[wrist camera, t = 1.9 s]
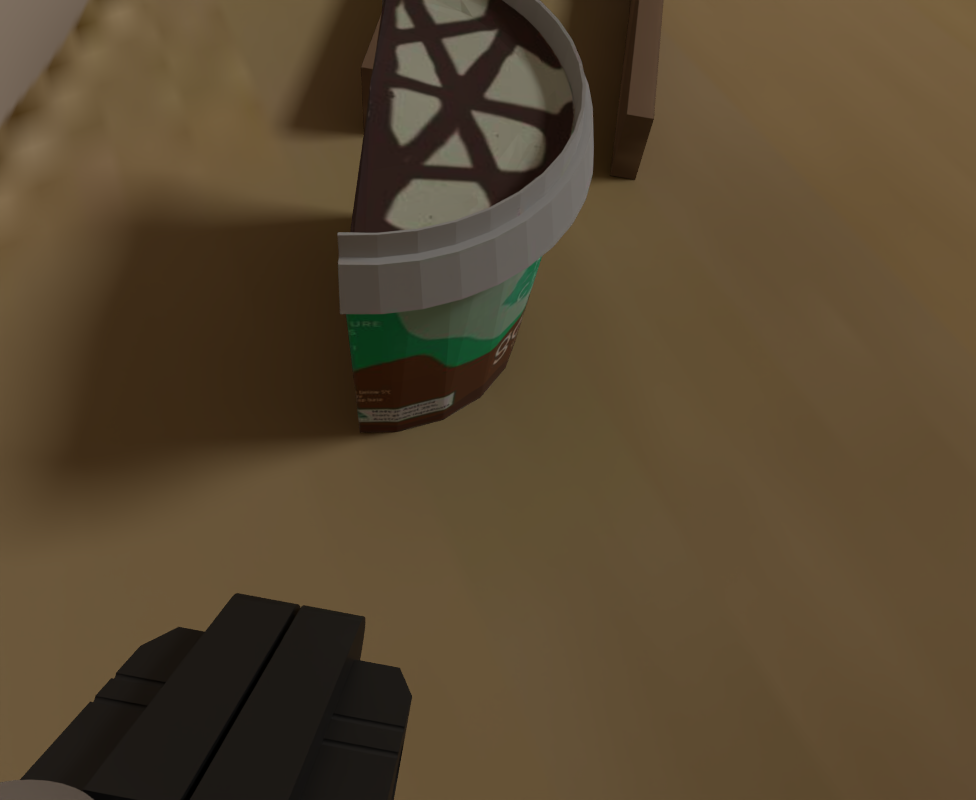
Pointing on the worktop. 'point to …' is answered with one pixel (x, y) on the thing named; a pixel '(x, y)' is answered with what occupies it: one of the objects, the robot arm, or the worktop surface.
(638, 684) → the worktop surface
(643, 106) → the bay
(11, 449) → the worktop surface
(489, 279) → the food container
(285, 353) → the worktop surface
